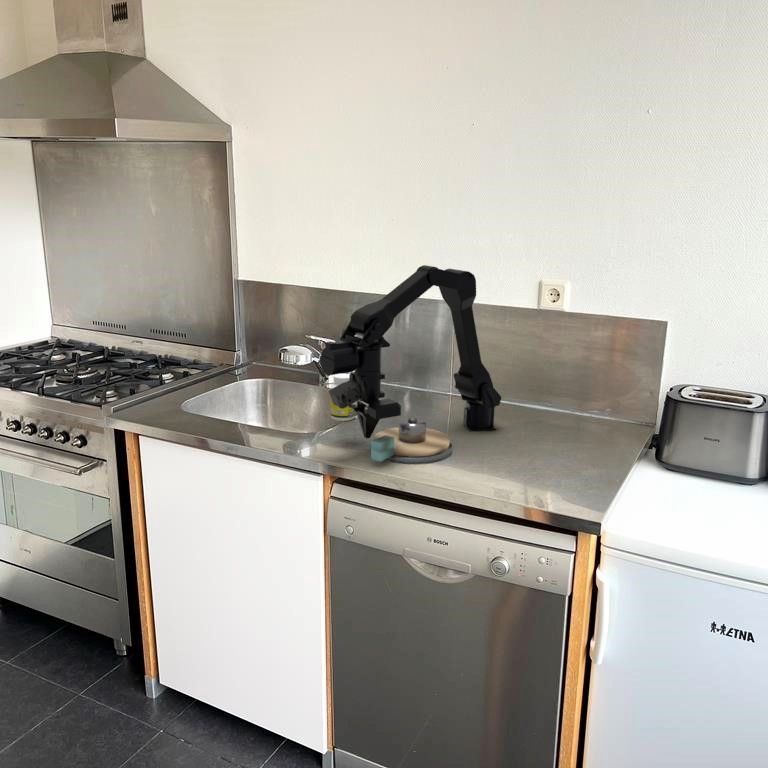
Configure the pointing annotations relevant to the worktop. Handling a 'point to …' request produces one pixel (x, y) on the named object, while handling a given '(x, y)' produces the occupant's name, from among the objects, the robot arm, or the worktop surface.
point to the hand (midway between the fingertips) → (367, 437)
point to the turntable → (407, 444)
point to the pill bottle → (337, 412)
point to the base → (421, 458)
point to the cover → (412, 430)
